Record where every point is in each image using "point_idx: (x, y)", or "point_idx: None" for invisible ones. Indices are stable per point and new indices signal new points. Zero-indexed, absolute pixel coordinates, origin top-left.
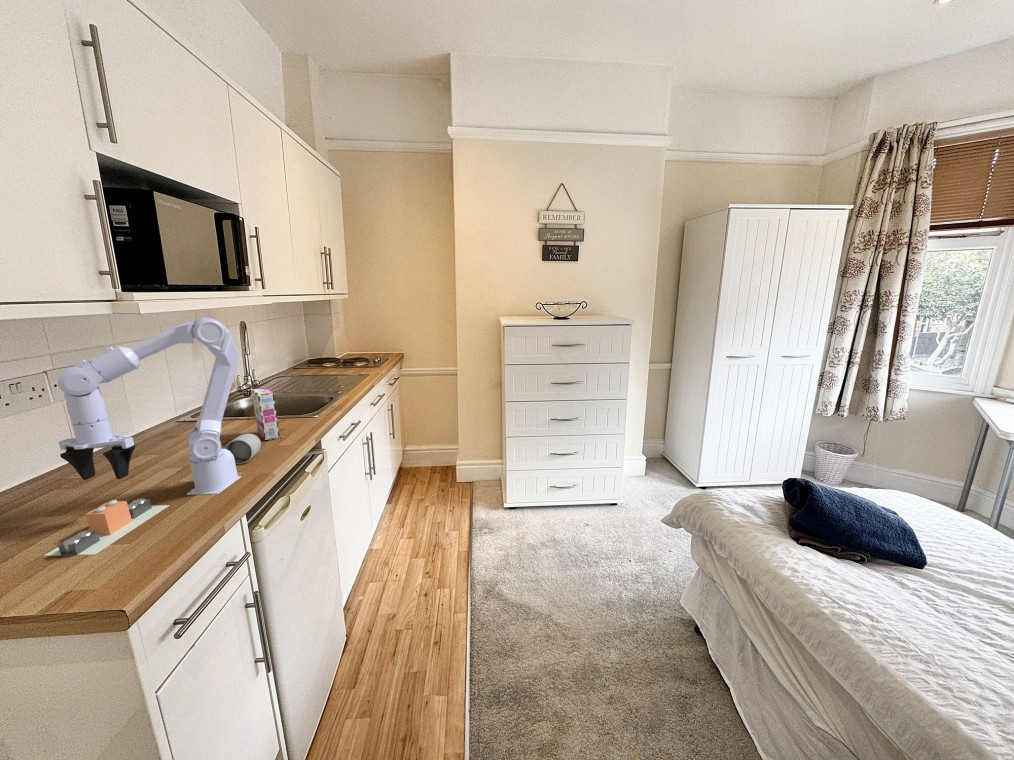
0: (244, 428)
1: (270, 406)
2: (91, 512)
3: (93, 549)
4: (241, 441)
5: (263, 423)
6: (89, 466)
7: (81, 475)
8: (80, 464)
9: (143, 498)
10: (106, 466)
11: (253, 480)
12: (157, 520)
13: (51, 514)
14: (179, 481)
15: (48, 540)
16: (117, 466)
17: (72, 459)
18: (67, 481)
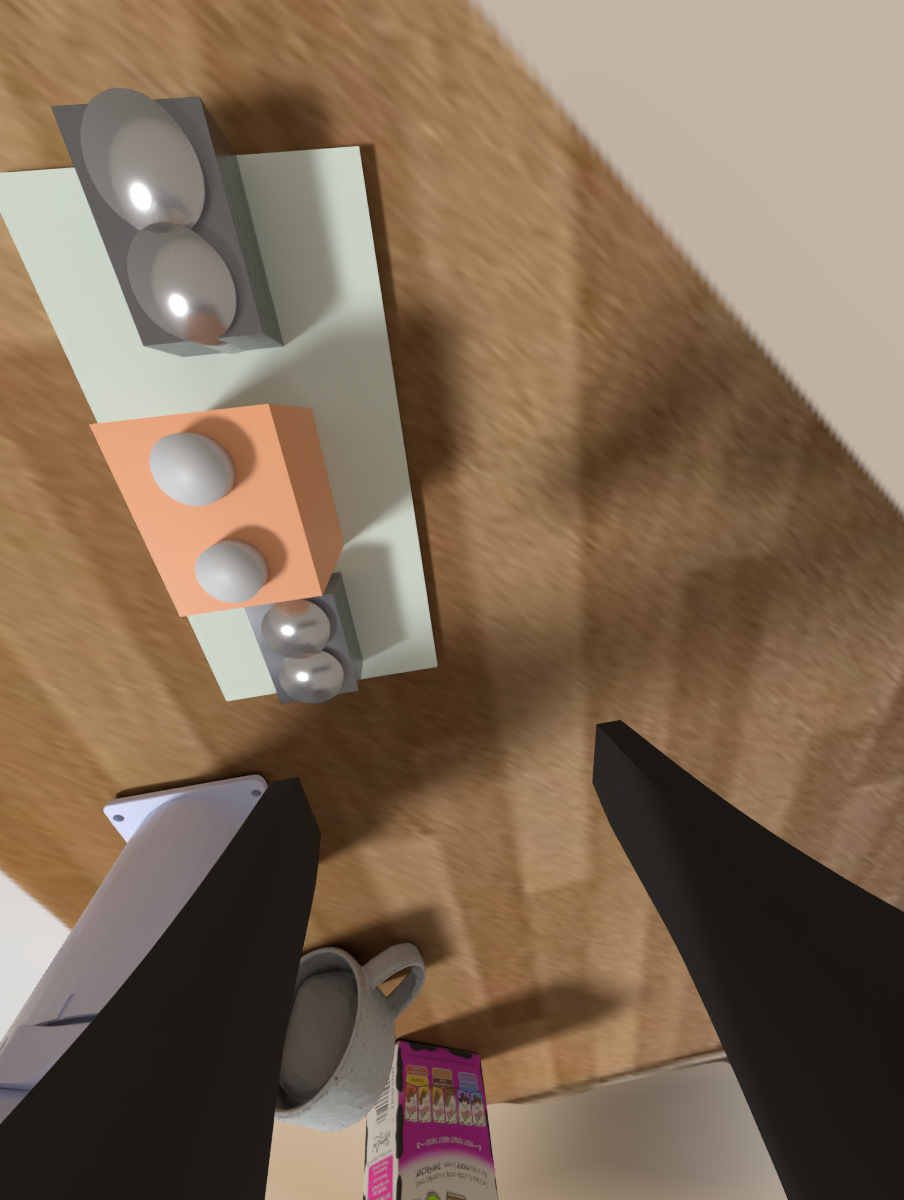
0: (559, 1055)
1: None
2: (251, 437)
3: (81, 242)
4: (304, 1093)
5: (395, 1154)
6: (656, 873)
7: (642, 751)
8: (725, 897)
9: (311, 701)
10: (819, 849)
11: None
12: (134, 592)
13: (748, 574)
14: (433, 835)
15: (539, 358)
16: (141, 961)
17: (892, 1025)
18: (881, 764)
